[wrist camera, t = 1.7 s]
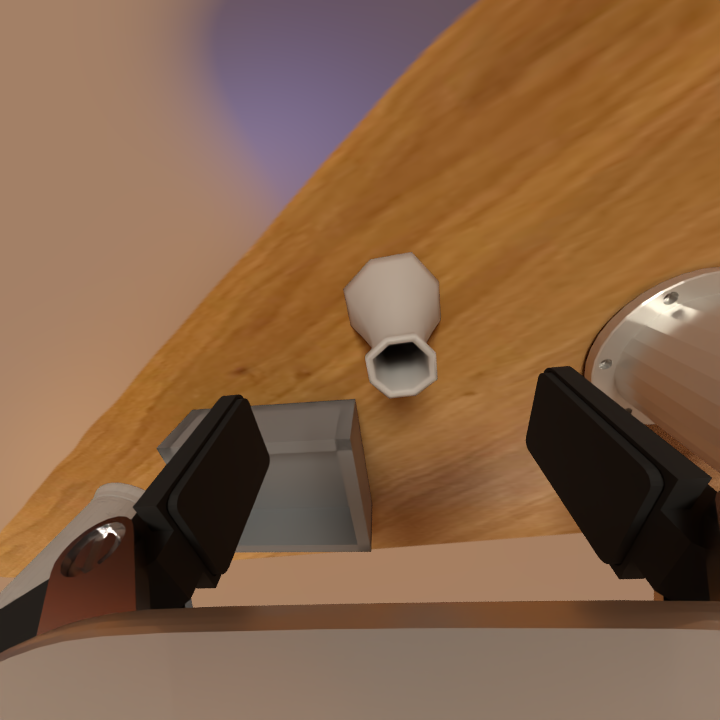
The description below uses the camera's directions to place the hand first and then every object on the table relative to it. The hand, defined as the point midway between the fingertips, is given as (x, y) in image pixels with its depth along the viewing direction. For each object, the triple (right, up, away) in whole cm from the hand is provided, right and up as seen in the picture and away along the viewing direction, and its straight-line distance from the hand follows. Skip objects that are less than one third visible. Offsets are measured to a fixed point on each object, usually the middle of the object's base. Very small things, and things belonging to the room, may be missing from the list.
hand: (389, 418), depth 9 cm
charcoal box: (-8, -9, +21) cm, 24 cm away
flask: (+2, +6, +12) cm, 14 cm away
